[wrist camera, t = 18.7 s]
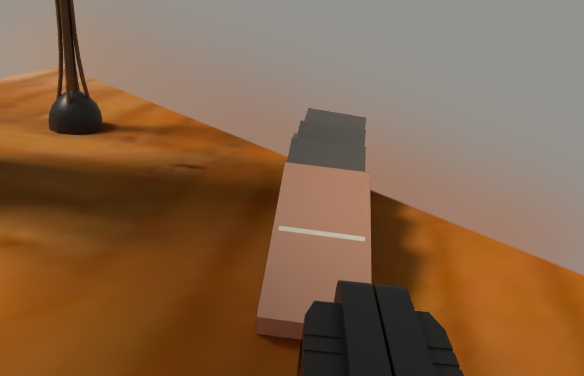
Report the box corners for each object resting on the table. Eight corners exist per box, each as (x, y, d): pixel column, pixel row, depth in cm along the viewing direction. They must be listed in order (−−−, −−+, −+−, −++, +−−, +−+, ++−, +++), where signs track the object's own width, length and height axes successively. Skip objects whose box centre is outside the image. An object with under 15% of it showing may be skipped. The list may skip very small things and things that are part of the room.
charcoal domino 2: (358, 231, 27) (365, 129, 34) (277, 218, 27) (300, 120, 34) (354, 247, 28) (361, 146, 35) (276, 234, 29) (299, 136, 35)
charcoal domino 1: (355, 201, 31) (366, 117, 38) (284, 188, 31) (308, 107, 38) (351, 217, 32) (362, 132, 39) (283, 204, 33) (306, 123, 40)
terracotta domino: (372, 332, 19) (370, 172, 26) (256, 316, 19) (285, 161, 26) (365, 348, 20) (364, 191, 27) (256, 334, 20) (283, 181, 27)
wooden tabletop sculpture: (34, 122, 44) (1, -120, 36) (78, 115, 47) (57, -107, 39) (68, 137, 41) (41, -122, 33) (113, 128, 45) (97, -108, 36)
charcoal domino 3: (362, 271, 23) (365, 146, 30) (267, 257, 23) (292, 137, 30) (357, 288, 24) (361, 164, 31) (267, 274, 25) (290, 155, 32)
